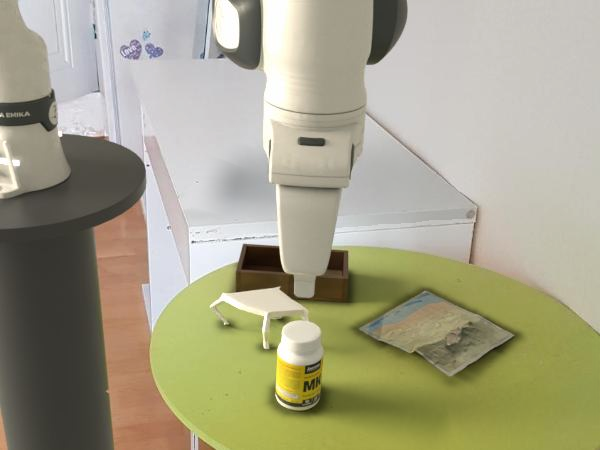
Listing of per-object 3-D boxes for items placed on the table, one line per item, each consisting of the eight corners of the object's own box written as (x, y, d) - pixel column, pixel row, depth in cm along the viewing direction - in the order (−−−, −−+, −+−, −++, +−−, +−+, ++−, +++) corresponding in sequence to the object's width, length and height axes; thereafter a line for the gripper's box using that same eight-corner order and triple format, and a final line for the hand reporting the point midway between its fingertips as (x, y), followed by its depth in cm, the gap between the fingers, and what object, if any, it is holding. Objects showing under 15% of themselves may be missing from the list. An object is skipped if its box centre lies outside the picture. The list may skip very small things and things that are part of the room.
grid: (235, 294, 96) (235, 271, 95) (242, 265, 103) (243, 243, 101) (346, 302, 96) (348, 279, 94) (346, 272, 102) (348, 250, 101)
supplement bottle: (306, 418, 76) (310, 351, 72) (266, 401, 78) (268, 335, 74) (328, 392, 80) (333, 327, 76) (290, 376, 82) (293, 312, 78)
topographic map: (515, 336, 91) (517, 324, 90) (450, 380, 82) (451, 368, 81) (425, 293, 99) (427, 282, 99) (357, 329, 91) (358, 318, 90)
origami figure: (309, 314, 93) (311, 280, 91) (310, 355, 86) (312, 319, 83) (212, 310, 93) (212, 276, 91) (205, 351, 85) (204, 315, 83)
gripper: (286, 92, 75) (282, 216, 81) (266, 173, 57) (263, 325, 63) (349, 96, 75) (340, 220, 81) (350, 178, 57) (338, 329, 63)
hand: (306, 267), depth 72 cm, fingers open, 8 cm apart
